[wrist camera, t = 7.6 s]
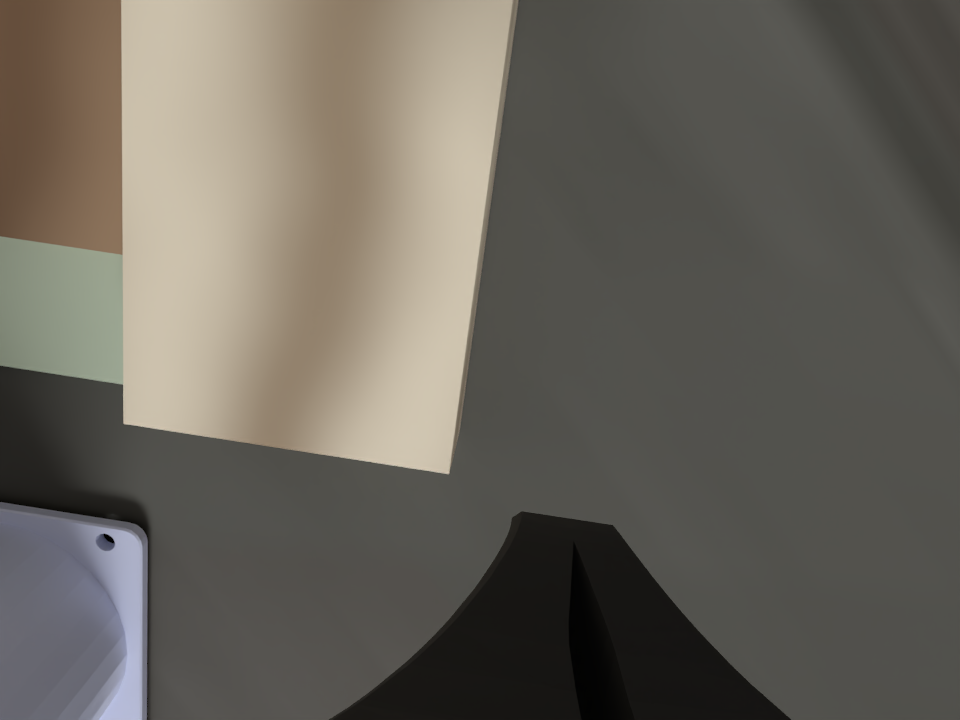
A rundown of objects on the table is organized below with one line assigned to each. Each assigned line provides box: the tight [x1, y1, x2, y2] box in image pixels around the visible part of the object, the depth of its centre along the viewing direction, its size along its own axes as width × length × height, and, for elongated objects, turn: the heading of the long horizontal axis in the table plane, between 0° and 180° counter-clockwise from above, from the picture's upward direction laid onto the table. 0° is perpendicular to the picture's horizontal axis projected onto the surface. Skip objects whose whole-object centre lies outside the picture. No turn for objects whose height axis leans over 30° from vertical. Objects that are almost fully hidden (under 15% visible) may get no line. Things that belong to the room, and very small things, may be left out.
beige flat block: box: [121, 0, 519, 474], centre depth 17 cm, size 8×16×2 cm, turn 172°
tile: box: [0, 0, 123, 255], centre depth 17 cm, size 6×9×2 cm, turn 172°
